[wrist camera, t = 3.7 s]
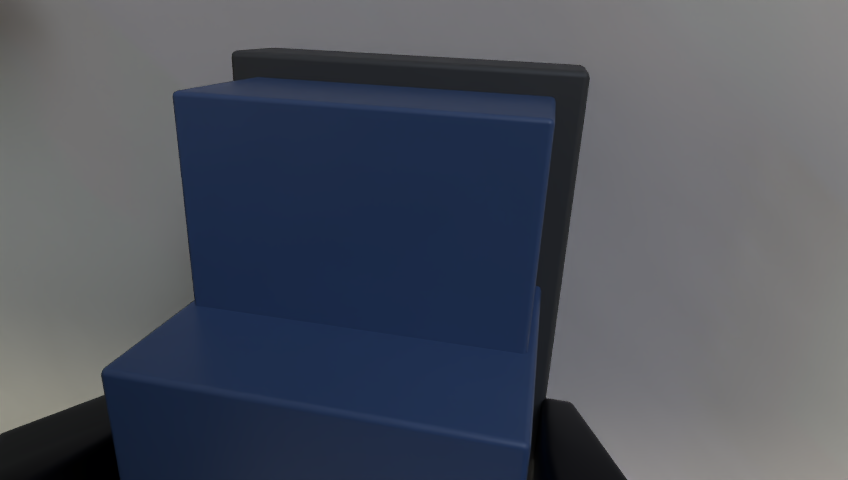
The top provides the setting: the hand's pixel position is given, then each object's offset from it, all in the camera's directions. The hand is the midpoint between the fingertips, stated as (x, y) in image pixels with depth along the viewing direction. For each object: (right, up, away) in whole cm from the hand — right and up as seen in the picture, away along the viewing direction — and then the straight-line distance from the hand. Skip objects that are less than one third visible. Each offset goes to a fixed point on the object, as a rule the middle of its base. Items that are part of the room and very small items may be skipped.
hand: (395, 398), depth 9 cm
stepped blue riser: (0, 0, +1) cm, 1 cm away
